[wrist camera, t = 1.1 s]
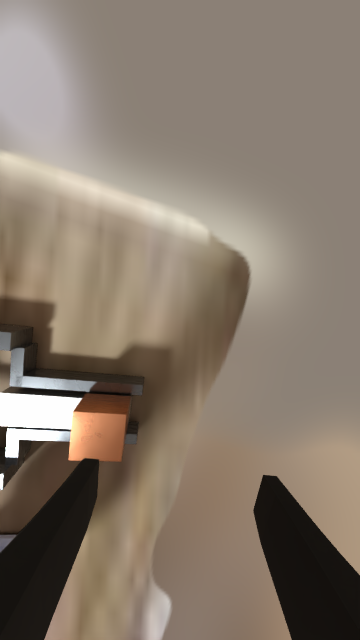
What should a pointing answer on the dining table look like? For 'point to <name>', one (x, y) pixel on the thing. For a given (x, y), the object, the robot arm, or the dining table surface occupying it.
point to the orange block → (72, 418)
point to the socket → (25, 374)
